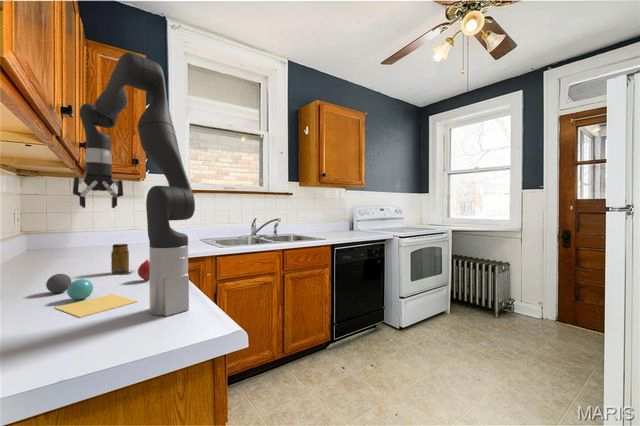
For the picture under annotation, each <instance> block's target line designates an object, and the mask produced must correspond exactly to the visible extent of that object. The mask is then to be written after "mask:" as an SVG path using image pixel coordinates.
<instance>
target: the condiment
mask: <svg viewBox="0 0 640 426" xmlns="http://www.w3.org/2000/svg"><path fill="white" fill-rule="evenodd" d="M128 246H129V245H128V244H127V243H117V244H116V243H115V244H112V249H111V254H110V256H111V257H110V258H111V262H110V263H111V265H110V267H111V270H110V271H111V272H110V273H107V274H106V275H110V276H111V275H126V274H127V275H129V274H132V273H135V272H138V270H136V271H135V270H130V261H129V260H130V253H129V247H128ZM129 271H130V272H129Z"/></svg>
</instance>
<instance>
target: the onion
mask: <svg viewBox="0 0 640 426" xmlns="http://www.w3.org/2000/svg"><path fill="white" fill-rule="evenodd" d="M137 274H138V276H139V277H140V279H143V280H144V281H146V282H148V281H150V262H149V259H146V260H145V261H144V262H143V263H141V264H140V266H139V267H138V270H137Z"/></svg>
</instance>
